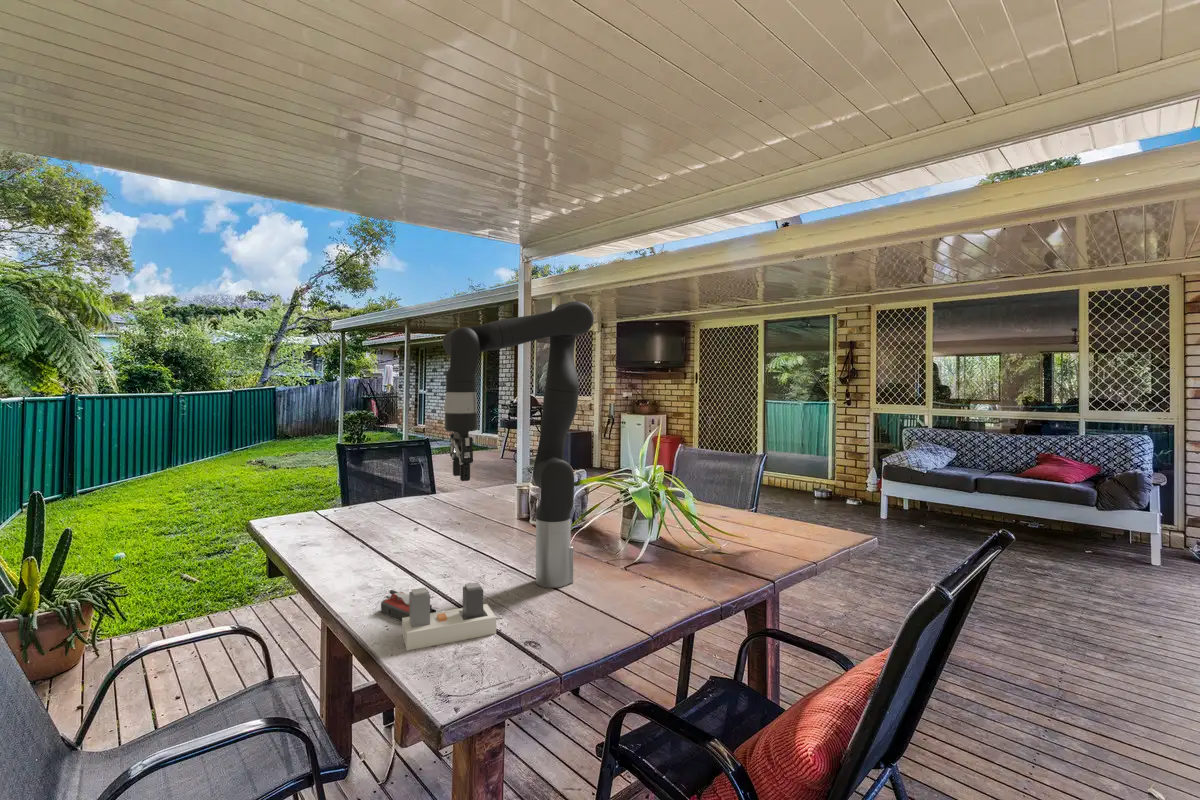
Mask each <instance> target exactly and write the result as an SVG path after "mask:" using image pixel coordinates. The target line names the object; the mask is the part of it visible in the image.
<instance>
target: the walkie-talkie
mask: <svg viewBox="0 0 1200 800" xmlns="http://www.w3.org/2000/svg"><path fill="white" fill-rule="evenodd" d="M389 595H390V597H389V598H387V599H383V600H382V601H381V602H380V614H383V615H385V616H387V617H389V618H392V619H394V620H396V621H399V622H401V623H402V618H404V617H409V593H406V592H403V591H396V590H395V589H390V590H389ZM432 606H433V604H430V613H434V612H438V611H437V610H436V609H435V608H433V607H432Z"/></svg>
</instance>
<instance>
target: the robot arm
mask: <svg viewBox="0 0 1200 800" xmlns="http://www.w3.org/2000/svg"><path fill="white" fill-rule="evenodd" d="M594 318H595V317H594V313H593V311H592V309H591V308H590V306H589V305H588V304H587V303H584V302H582V301H577V300H576V301H568V302H565V303H560V304H559V305H557V306H555V308H554V309H553V310H550V311H546V312H543V313H542V312H541V313H538V314H537V313H536V314H532V315H524V316H517V317H511V318H510V317H509V318H505V319H499V320H494V321H490V322H487V323H484V324H481V325H476V326H469V327H466V326H465V327H464V326H463V327H458V328H454V329H451V330H449V331H448V332H446V334H445V335H444V337H443V339H442V347H443V350H444V352H445V354H447V355H448V356H450V362H449V364H450V365H449V368H448V369H447V371H446V375H445V398H444V430H445V431H446V432H452V433H450V434H449V435H450V446H449V447H450V453H449V456H450V458H451V461H452V476H454V477H459V480H460V481H461V482H469V481H470V480H471V465H472V464H473V462H474V438H473V437H472V436H470V434H469V432H475V431H477V429H478V401H477V400H478V398H477V390H476V389H477V379H476V378H477V377H476V373H477V369H478V364H479V358H480V353H483V352H488V351H489V352H490V351H497V350H504V349H506V348H512V347H516V346H520V345H522V344H526V343H529V342H533V341H537V340H541V339H545V338H549V352H548V353H549V354H548V362H547V369H546V378H545V386H544V393H543V399H542V400H543V402H542V412H541V420H540V421H541V422H540V433H539V441H538V446H537V451H536V455H535V459H534V465H533V469H532V478H533V482H534V483H535V485H536V486H537V488H539V489H540V503H539V505H538V506H537V507H536V510H535V583H536V585H537V586H539V587H543V588H553V589H554V588H561V587H566V586H567V585H569V584H573V583H574V547H573V546H572V545H571V528H572V527H571V523H572V522H571V521H572V519H571V518H572V517H571V513H572V510H573V507H574V498H575V497H574V496H575V474H574V469H573V467H572V466H571V464H570V463H569V462H568V461H566V460H564V450H565V443H566V439H567V434H568V432H569V431H570V428H571V426H572V423H573V422H574V418H575V416H576V412H577V410H578V409H577V408H578V401H579V394H580V384H579V383H580V382H579V377H578V372H577V368H576V365H575V356H574V354H575V345H576V340H577V337H580V336H582V335H584V334H585V335H586V334H587V332H589V331H590V330H591V329H592V326H594V325H593V324H594Z"/></svg>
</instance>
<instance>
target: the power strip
mask: <svg viewBox="0 0 1200 800" xmlns="http://www.w3.org/2000/svg"><path fill="white" fill-rule="evenodd" d="M408 594H409V617H404V618H402V622H401V635H402V638H403V641H404V643H403V644H404V646H405V650H406V651H407V652H408V651H412V650H417V649H423V648H428V647H433V646H437V645H439V646H440V645H443V644H448V643H453V642H455V643H456V642H459V641H465V640H470V639H476V638H479V637H486V636H490V635H496V634H497V616H496V614H495V613H494V612H493V610H492V608H491V607H490V606H489V605H488V603H483V617H479V618H473V619H467V620H463V607H460V608H454V609H449V610H442V611H437V612H434V613H430V605H431V594H430V593H429V590H428V589H427V588H426V587H419V588H414V589H411V591H409V593H408Z"/></svg>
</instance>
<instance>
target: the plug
mask: <svg viewBox="0 0 1200 800" xmlns="http://www.w3.org/2000/svg"><path fill="white" fill-rule="evenodd" d="M483 604H484V589H483V587H482V586H481V584H480V583H479V582H472V583H471V582H470V583H465V584H464V586H462V608H463V620H467V619H473V618H479V617H483Z"/></svg>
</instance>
